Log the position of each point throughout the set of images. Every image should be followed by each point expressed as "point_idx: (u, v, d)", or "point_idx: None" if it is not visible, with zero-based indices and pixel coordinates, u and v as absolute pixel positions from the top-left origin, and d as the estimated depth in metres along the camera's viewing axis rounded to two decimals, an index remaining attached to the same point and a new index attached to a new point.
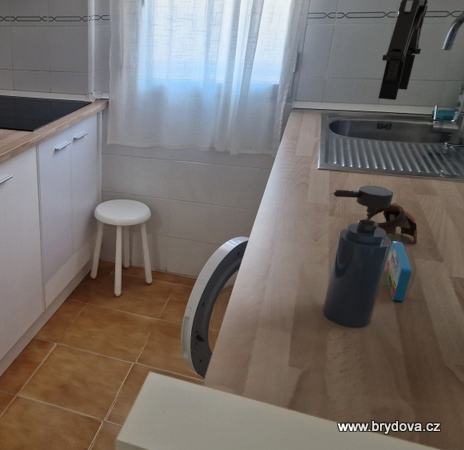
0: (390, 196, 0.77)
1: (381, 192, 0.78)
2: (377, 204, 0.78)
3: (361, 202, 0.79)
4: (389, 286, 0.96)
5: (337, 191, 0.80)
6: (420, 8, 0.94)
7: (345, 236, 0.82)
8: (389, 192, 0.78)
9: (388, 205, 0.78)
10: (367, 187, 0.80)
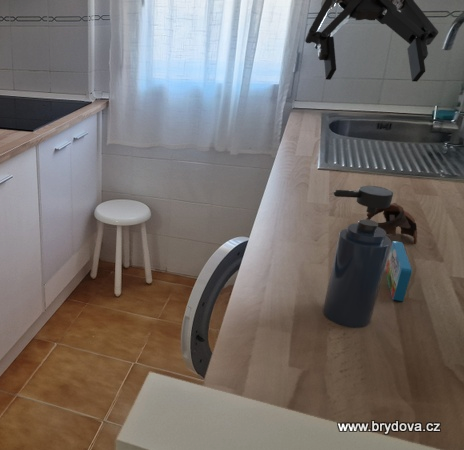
0: (390, 196, 0.77)
1: (381, 192, 0.78)
2: (377, 204, 0.78)
3: (361, 202, 0.79)
4: (389, 286, 0.96)
5: (337, 191, 0.80)
6: None
7: (345, 236, 0.82)
8: (389, 192, 0.78)
9: (388, 205, 0.78)
10: (367, 187, 0.80)
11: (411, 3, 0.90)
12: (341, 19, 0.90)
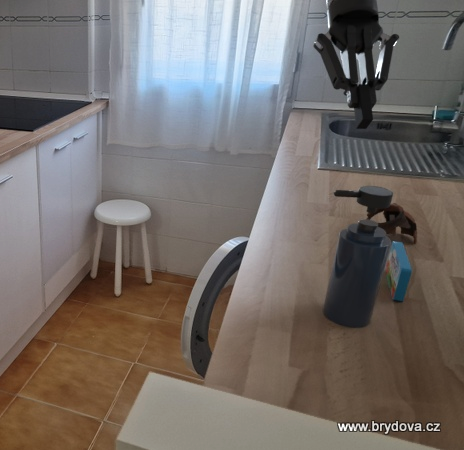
0: (390, 196, 0.77)
1: (381, 192, 0.78)
2: (377, 204, 0.78)
3: (361, 202, 0.79)
4: (389, 286, 0.96)
5: (337, 191, 0.80)
6: (345, 32, 0.89)
7: (345, 236, 0.82)
8: (389, 192, 0.78)
9: (388, 205, 0.78)
10: (367, 187, 0.80)
11: (389, 46, 0.88)
12: (354, 59, 0.87)
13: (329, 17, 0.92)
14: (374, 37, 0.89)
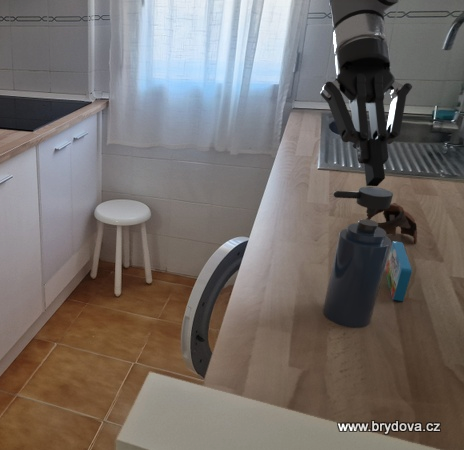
0: (390, 197, 0.77)
1: (381, 193, 0.78)
2: (377, 205, 0.78)
3: (361, 203, 0.79)
4: (389, 286, 0.96)
5: (337, 192, 0.80)
6: (355, 80, 0.84)
7: (345, 236, 0.82)
8: (388, 193, 0.78)
9: (388, 206, 0.78)
10: (367, 188, 0.80)
11: (401, 96, 0.82)
12: (364, 111, 0.82)
13: (337, 63, 0.87)
14: (385, 86, 0.83)
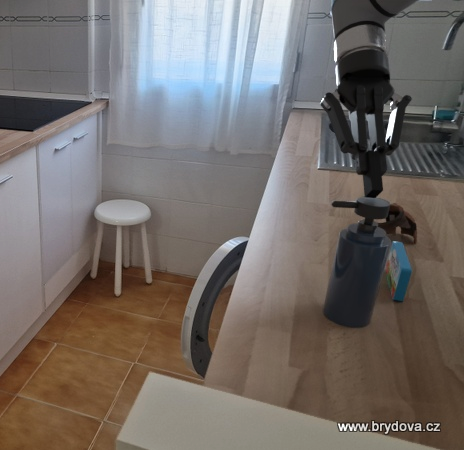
0: (387, 207, 0.78)
1: (378, 203, 0.79)
2: (374, 215, 0.78)
3: (359, 213, 0.80)
4: (389, 286, 0.96)
5: (335, 202, 0.80)
6: (355, 91, 0.84)
7: (345, 236, 0.82)
8: (386, 203, 0.79)
9: (385, 216, 0.79)
10: (364, 198, 0.81)
11: (401, 108, 0.83)
12: (363, 122, 0.82)
13: (337, 74, 0.87)
14: (385, 98, 0.84)
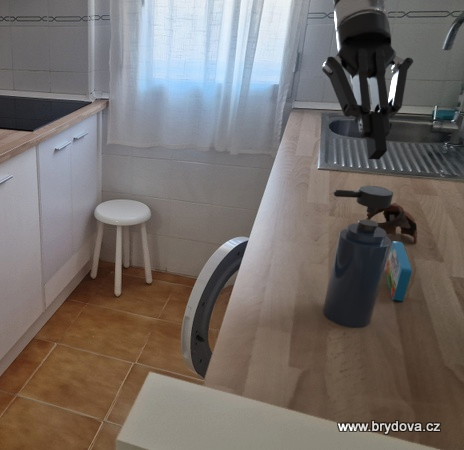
0: (390, 196, 0.77)
1: (381, 192, 0.78)
2: (377, 204, 0.78)
3: (361, 202, 0.79)
4: (389, 286, 0.96)
5: (337, 191, 0.80)
6: (356, 55, 0.84)
7: (345, 236, 0.82)
8: (389, 192, 0.78)
9: (388, 205, 0.78)
10: (367, 187, 0.80)
11: (402, 70, 0.83)
12: (366, 85, 0.82)
13: (338, 39, 0.87)
14: (387, 61, 0.84)
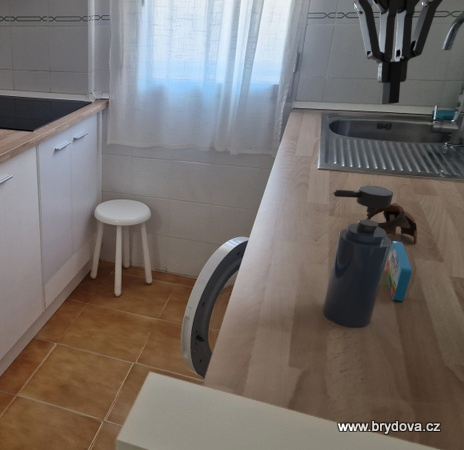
0: (390, 196, 0.77)
1: (381, 192, 0.78)
2: (377, 204, 0.78)
3: (361, 202, 0.79)
4: (389, 286, 0.96)
5: (337, 191, 0.80)
6: None
7: (345, 236, 0.82)
8: (389, 192, 0.78)
9: (388, 205, 0.78)
10: (367, 187, 0.80)
11: (431, 9, 0.85)
12: (392, 30, 0.86)
13: None
14: None
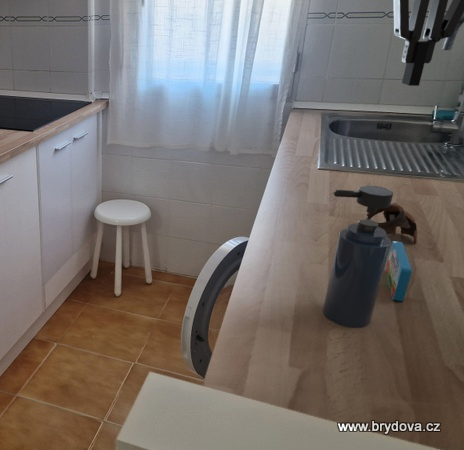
0: (390, 196, 0.77)
1: (381, 192, 0.78)
2: (377, 204, 0.78)
3: (361, 202, 0.79)
4: (389, 286, 0.96)
5: (337, 191, 0.80)
6: None
7: (345, 236, 0.82)
8: (389, 192, 0.78)
9: (388, 205, 0.78)
10: (367, 187, 0.80)
11: None
12: (425, 8, 0.82)
13: None
14: None
